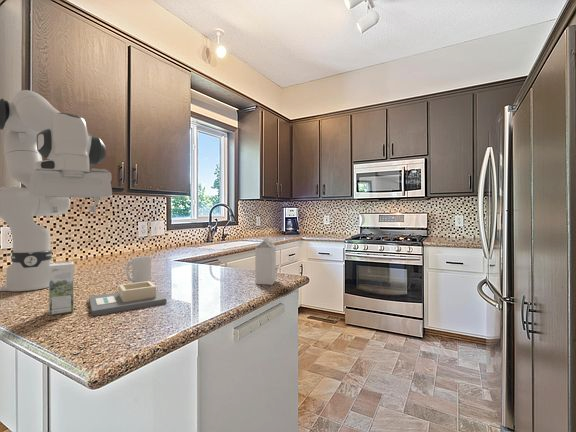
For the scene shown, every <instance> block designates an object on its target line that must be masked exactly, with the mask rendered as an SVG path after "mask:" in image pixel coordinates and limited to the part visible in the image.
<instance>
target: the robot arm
mask: <svg viewBox="0 0 576 432" xmlns="http://www.w3.org/2000/svg"><path fill="white" fill-rule="evenodd" d="M0 130H1V131H2V130H6V133H5V135H4V140H3V141H4V142H3V151H4V158H5V164H6V170H7V174H8V176H9V177H10V178H12V180H14V181H16V182H18V183H21V184H22V185H23V186H24V187H23V186H22V187H20V186H19V187H17V186H6V187H5V186H4V187H0V219H2V221H4V222H5V223H6V225H7V226H8V228H9V229H10V233H11V237H12V252H11V256H10V258H11V259H10V261H11V264H9V266H8V267H6V268H5V285H3V286H1V287H0V292H26V291H28V292H29V291H35V290H40V289H42V290H43V289H47V288H49V265H50V263H55V262H53V261H52V258H53V253H52V250H51V232H50V230H49V229H47V228H46V227H44V226H43V225H40V224H37V223H36V222H35V220H34V217H47V216H48V217H52V216H59V215H62V214H63V215H64V214H65V213H67V211H69V209H70V207H71V199H70V198H79V199H80V198H87V199H88V198H89V199H90V198H91V199H92V201H93V202H94V203H93V204H92V205H90V206H89V205H88V213H96V209H97V208H96V207H97V205H98V204H99V202H100V199H101V198H102V199H108V198H111V196H112V194H113V189H112V184H111V182H112V179H113V178H112V172H110V171H109V170H107V169H106V168H96V167H95V168H94V166H97V165H99V164H101V163H102V162H103V161H104V160H105V159H106V157H107V148H106V145H105V144H104V142H103V140H101V138H100V137H98V136H95V135H94V136H93V135H92V134H91V133H89V131H88V127H87V123H86V120H85V119H84V118H83V117H81V116H79V115H77V114H73V113H65V112H60V111H59V110H58V109H57V108H55V107H54V106H53V104H51V103H50V102H49V101H48V100H47V99H46V98H45V97H43V96H42V95H41V94H39V93H37V92H36V91H33V90H29V89H23V90H18V91H17V92H15V93H14V95H13V97H12V101H10V100H6V99H4V98H0ZM43 158H44V160H43ZM45 159H46V160H45ZM90 166H93V167H90Z"/></svg>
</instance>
